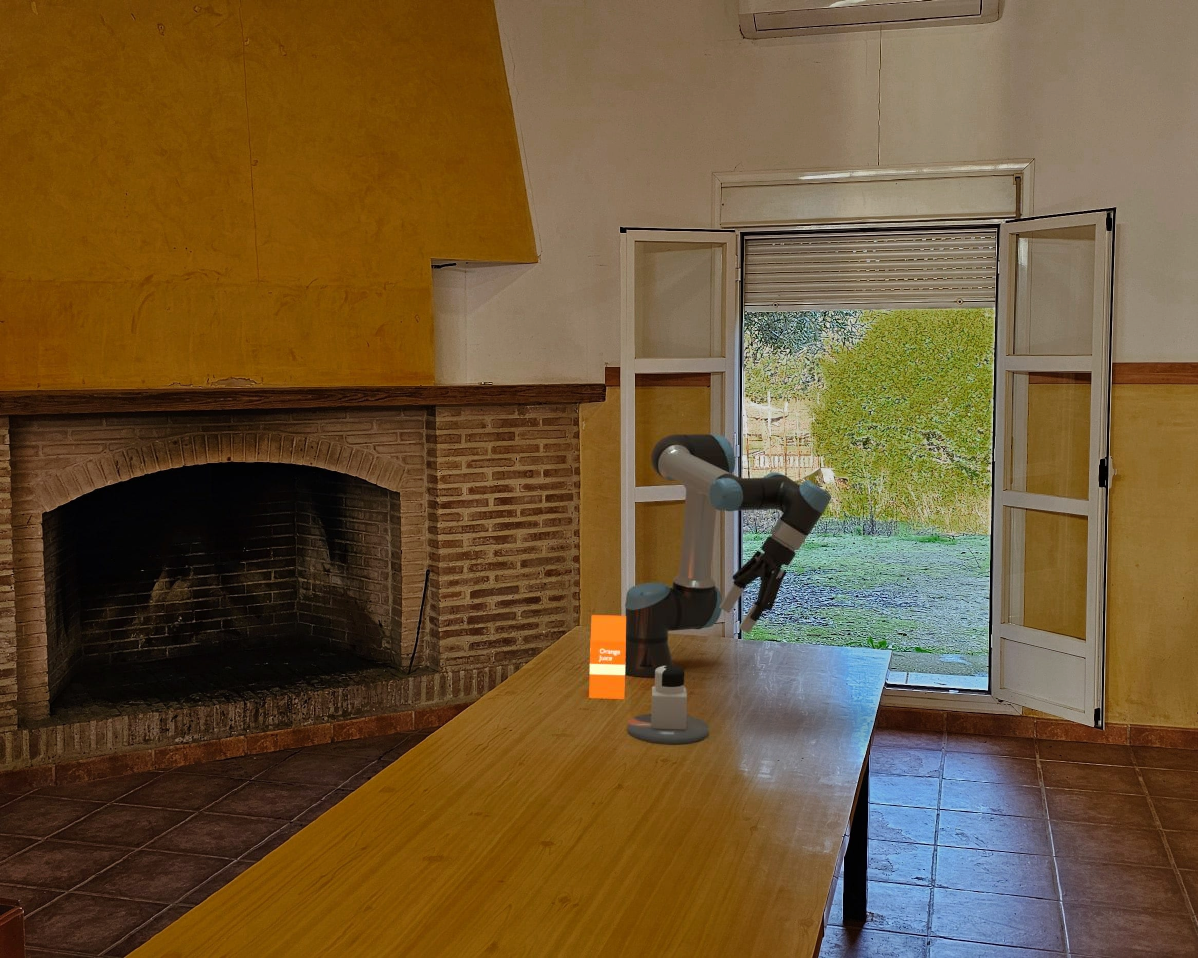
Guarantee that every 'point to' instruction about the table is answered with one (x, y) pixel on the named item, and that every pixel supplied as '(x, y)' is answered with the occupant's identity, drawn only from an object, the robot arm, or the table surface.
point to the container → (669, 699)
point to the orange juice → (607, 657)
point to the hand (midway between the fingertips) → (733, 620)
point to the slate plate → (667, 731)
